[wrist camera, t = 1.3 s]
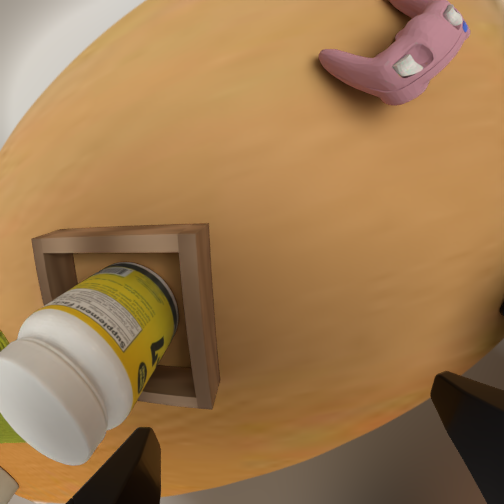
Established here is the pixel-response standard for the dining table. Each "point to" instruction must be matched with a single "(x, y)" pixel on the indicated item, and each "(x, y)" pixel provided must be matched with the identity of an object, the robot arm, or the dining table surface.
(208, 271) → the walnut holder
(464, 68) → the dining table surface
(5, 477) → the travel mug
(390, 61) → the video game controller
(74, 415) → the supplement bottle
